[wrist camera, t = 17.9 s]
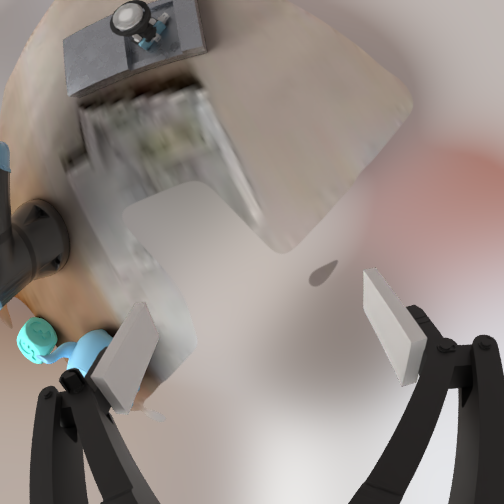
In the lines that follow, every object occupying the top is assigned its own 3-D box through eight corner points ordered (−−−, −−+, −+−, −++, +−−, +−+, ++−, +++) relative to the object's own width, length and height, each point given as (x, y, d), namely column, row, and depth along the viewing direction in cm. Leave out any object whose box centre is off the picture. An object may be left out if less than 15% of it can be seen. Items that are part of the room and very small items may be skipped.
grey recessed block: (80, 97, 37) (67, 96, 33) (74, 43, 33) (63, 39, 29) (207, 52, 35) (202, 45, 31) (196, -4, 31) (191, -14, 27)
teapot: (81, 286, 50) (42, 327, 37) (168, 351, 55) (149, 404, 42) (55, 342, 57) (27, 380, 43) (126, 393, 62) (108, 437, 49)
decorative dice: (53, 349, 58) (39, 369, 50) (31, 328, 56) (14, 347, 48) (61, 332, 55) (44, 353, 48) (36, 311, 53) (18, 330, 46)
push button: (157, 10, 30) (132, -16, 21) (182, 23, 31) (162, -3, 22) (129, 43, 32) (98, 25, 23) (154, 57, 34) (126, 39, 24)
